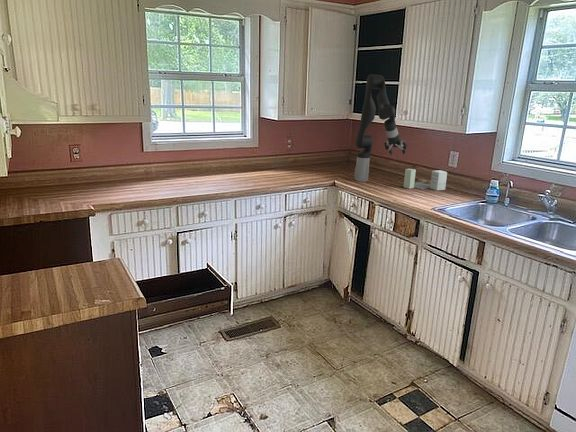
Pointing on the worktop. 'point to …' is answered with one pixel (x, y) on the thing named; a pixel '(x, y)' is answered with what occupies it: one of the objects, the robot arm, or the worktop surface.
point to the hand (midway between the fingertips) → (397, 153)
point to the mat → (421, 185)
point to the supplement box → (438, 180)
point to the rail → (424, 181)
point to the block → (409, 178)
